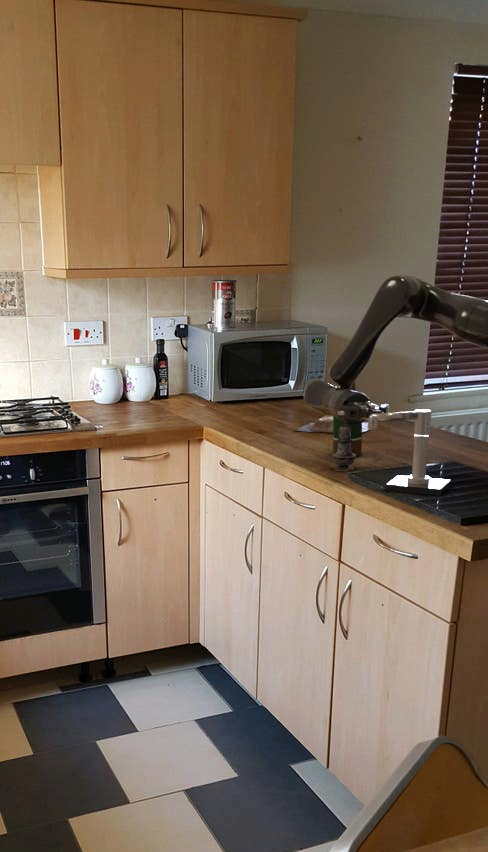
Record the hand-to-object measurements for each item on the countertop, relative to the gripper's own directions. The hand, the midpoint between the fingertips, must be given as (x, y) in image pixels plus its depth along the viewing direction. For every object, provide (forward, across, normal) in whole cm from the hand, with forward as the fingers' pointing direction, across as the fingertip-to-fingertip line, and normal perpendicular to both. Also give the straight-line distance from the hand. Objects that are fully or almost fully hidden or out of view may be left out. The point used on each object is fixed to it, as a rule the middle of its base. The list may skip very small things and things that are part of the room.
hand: (379, 416), depth 192 cm
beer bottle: (-41, +10, +17) cm, 45 cm away
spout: (+1, +4, +4) cm, 6 cm away
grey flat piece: (-84, +24, +17) cm, 89 cm away
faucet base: (+1, +10, +16) cm, 19 cm away
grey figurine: (-24, +2, +17) cm, 29 cm away
